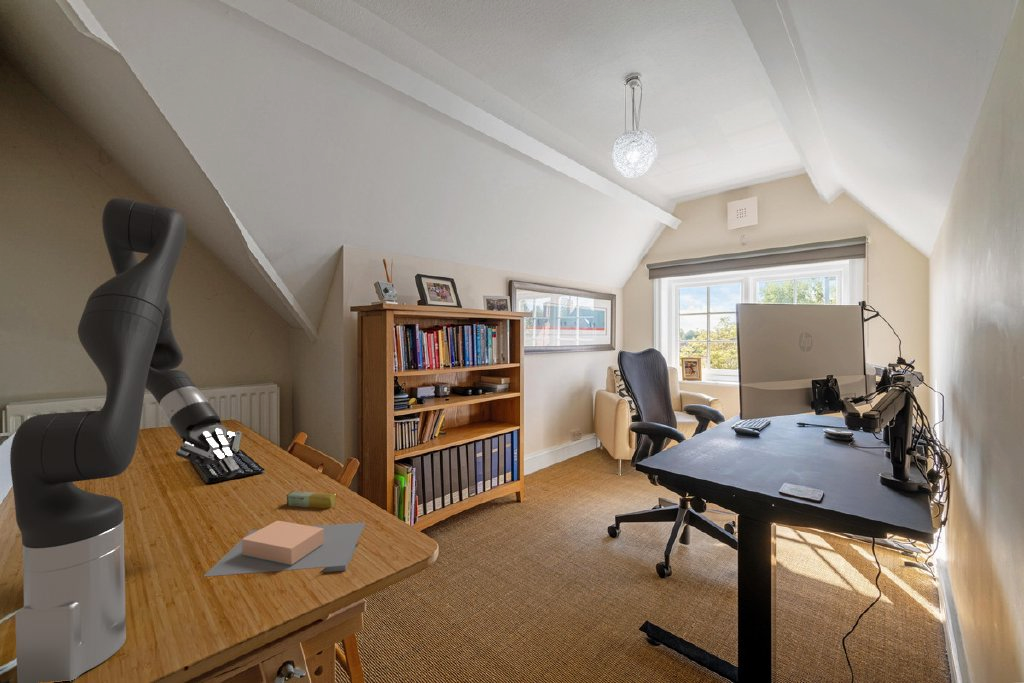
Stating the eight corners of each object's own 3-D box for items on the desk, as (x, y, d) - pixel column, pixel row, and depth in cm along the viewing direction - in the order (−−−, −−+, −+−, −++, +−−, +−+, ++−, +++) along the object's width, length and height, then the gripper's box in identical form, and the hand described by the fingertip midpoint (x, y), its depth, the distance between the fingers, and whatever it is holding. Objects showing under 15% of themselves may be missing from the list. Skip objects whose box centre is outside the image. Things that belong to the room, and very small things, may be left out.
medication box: (286, 510, 100) (285, 494, 100) (293, 505, 103) (292, 490, 102) (330, 513, 98) (330, 497, 98) (337, 508, 101) (336, 492, 101)
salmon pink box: (241, 539, 77) (291, 548, 74) (277, 520, 85) (323, 528, 81) (242, 556, 77) (291, 566, 74) (277, 535, 85) (324, 544, 81)
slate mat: (345, 570, 74) (345, 565, 74) (203, 582, 71) (202, 576, 71) (366, 526, 91) (366, 522, 91) (251, 534, 88) (251, 529, 87)
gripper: (163, 405, 79) (209, 473, 76) (228, 396, 92) (270, 454, 88) (145, 430, 81) (190, 498, 77) (212, 418, 93) (252, 475, 90)
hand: (233, 474), depth 83 cm, fingers closed
